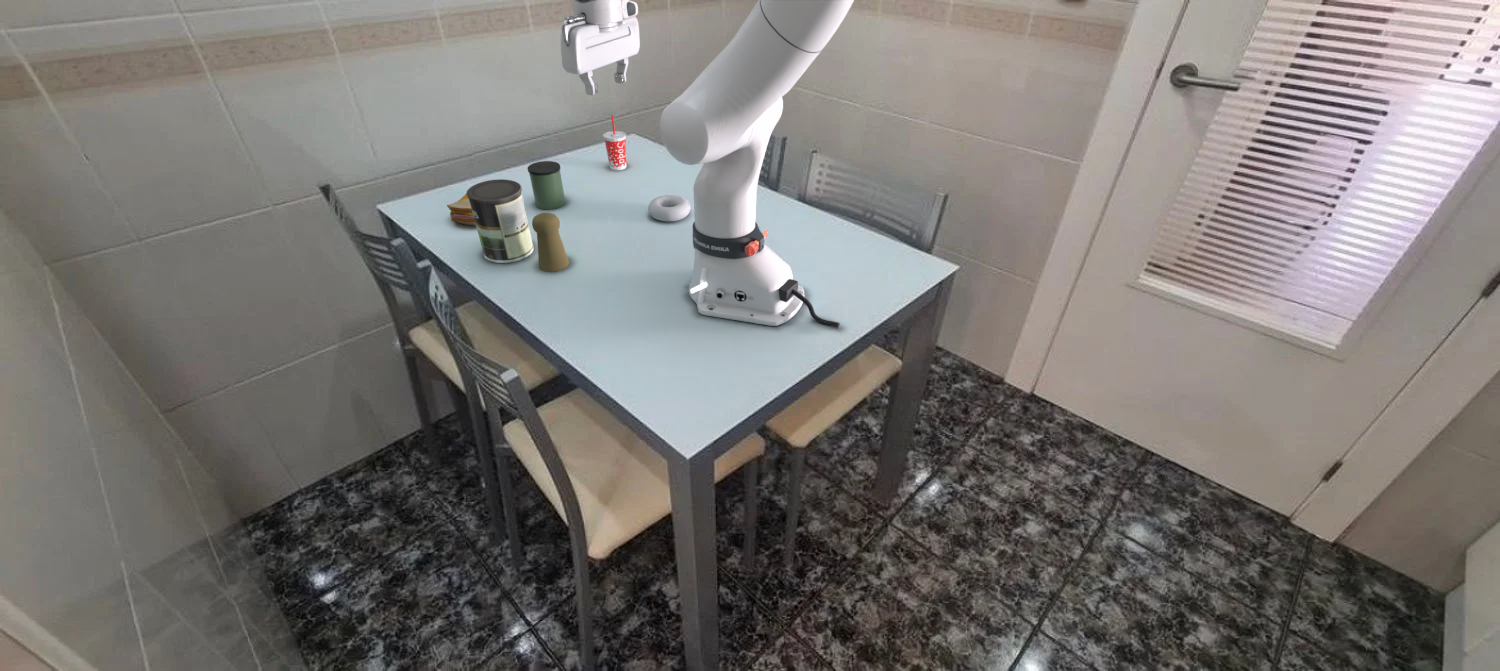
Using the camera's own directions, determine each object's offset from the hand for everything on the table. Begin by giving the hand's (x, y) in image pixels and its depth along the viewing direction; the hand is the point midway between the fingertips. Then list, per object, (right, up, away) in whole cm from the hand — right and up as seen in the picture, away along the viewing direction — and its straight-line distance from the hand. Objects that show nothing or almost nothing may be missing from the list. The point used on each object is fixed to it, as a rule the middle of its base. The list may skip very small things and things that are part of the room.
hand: (606, 88), depth 120 cm
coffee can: (-23, -31, +10) cm, 40 cm away
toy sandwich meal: (-35, -21, +23) cm, 47 cm away
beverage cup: (-8, -2, +49) cm, 50 cm away
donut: (+9, -20, +26) cm, 34 cm away
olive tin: (-21, -16, +29) cm, 39 cm away
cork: (-12, -34, +6) cm, 37 cm away
